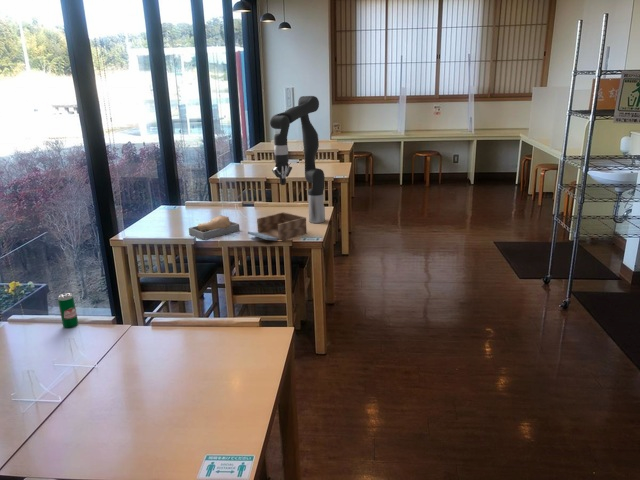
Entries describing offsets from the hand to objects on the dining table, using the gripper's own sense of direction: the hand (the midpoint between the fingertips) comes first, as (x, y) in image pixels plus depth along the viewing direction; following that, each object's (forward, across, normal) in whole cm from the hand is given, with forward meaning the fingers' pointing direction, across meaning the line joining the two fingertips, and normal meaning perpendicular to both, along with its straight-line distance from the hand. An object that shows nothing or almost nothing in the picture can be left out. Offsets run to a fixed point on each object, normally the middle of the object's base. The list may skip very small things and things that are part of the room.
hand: (283, 184), depth 275 cm
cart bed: (+29, 0, -3) cm, 29 cm away
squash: (+28, +24, -36) cm, 52 cm away
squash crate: (+29, +24, -36) cm, 52 cm away
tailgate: (+28, +10, -3) cm, 29 cm away
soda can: (+29, +126, +28) cm, 132 cm away
